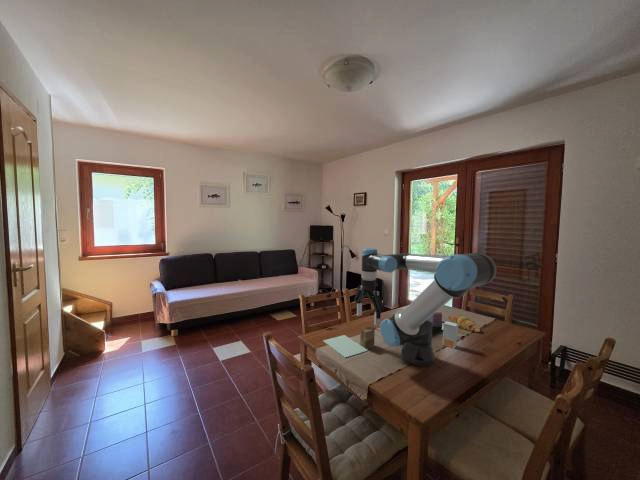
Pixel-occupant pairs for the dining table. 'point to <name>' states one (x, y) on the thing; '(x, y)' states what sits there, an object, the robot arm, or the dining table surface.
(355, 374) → the dining table surface
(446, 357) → the dining table surface
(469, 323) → the croissant
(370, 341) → the walnut block
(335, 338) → the mat
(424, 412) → the dining table surface
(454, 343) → the skincare box
